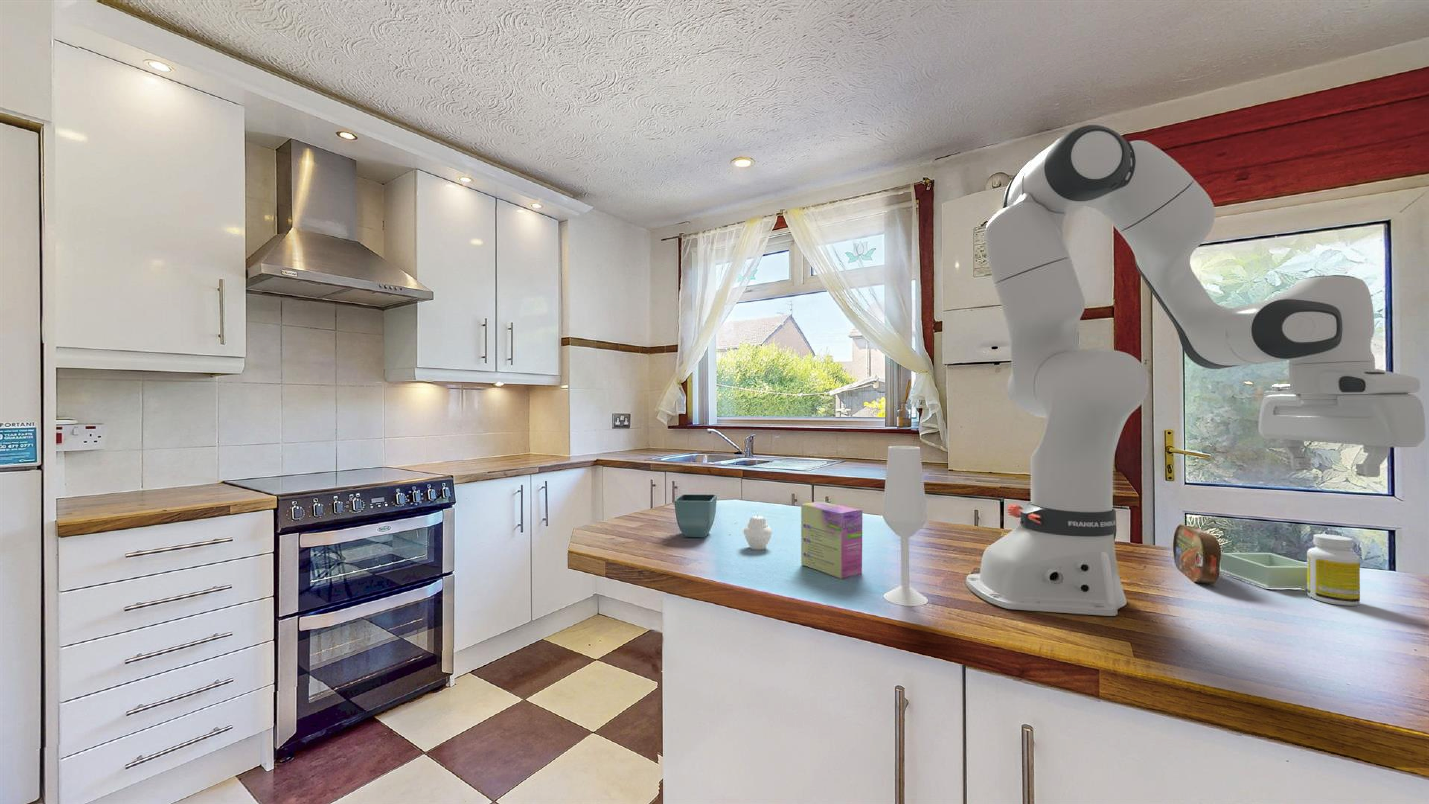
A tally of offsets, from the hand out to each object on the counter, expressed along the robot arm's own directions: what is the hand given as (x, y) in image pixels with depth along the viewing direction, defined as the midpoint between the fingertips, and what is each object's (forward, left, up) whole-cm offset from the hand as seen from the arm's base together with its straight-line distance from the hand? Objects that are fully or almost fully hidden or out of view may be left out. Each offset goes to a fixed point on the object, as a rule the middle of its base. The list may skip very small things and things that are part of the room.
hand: (1332, 472), depth 84 cm
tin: (-11, +11, -20) cm, 26 cm away
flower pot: (-101, +41, -20) cm, 111 cm away
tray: (-1, +9, -20) cm, 22 cm away
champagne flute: (-65, 0, -20) cm, 68 cm away
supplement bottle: (0, 0, -20) cm, 20 cm away
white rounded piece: (-87, +30, -20) cm, 94 cm away
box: (-74, +15, -20) cm, 78 cm away
